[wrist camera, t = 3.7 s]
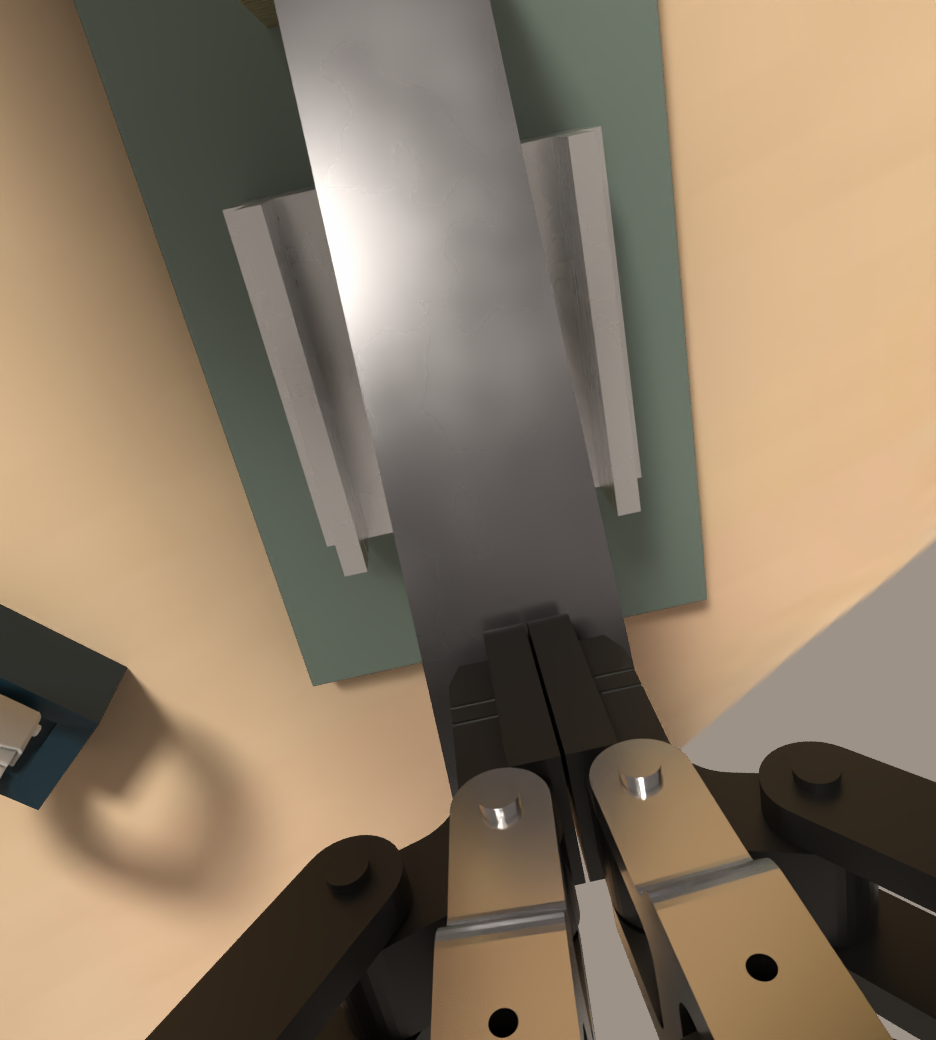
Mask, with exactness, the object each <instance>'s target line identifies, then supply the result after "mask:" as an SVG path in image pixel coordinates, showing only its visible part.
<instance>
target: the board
mask: <svg viewBox="0 0 936 1040" xmlns="http://www.w3.org/2000/svg"><path fill="white" fill-rule="evenodd" d="M74 3H75V6H76V9H77V12H78V14H79V17H80V20H81V23H82V26H83V29H84V32H85V34H86V37H87V40H88V43H89V46H90V49H91V52H92V54H93V57H94V60H95V63H96V66H97V69H98V72H99V75H100V77H101V80H102V83H103V86H104V89H105V92H106V95H107V97H108V100H109V103H110V106H111V109H112V112H113V115H114V118H115V120H116V123H117V126H118V129H119V132H120V135H121V138H122V140H123V143H124V146H125V149H126V152H127V155H128V158H129V160H130V163H131V166H132V169H133V172H134V175H135V178H136V181H137V183H138V186H139V189H140V192H141V195H142V198H143V201H144V203H145V206H146V209H147V212H148V215H149V218H150V221H151V223H152V226H153V229H154V232H155V235H156V238H157V241H158V244H159V246H160V249H161V252H162V255H163V258H164V261H165V264H166V266H167V269H168V272H169V275H170V278H171V281H172V284H173V287H174V289H175V292H176V295H177V298H178V301H179V304H180V307H181V309H182V312H183V315H184V318H185V321H186V324H187V327H188V329H189V332H190V335H191V338H192V341H193V344H194V347H195V350H196V352H197V355H198V358H199V361H200V364H201V367H202V370H203V372H204V375H205V378H206V381H207V384H208V387H209V390H210V392H211V395H212V398H213V401H214V404H215V407H216V410H217V413H218V415H219V418H220V421H221V424H222V427H223V430H224V433H225V435H226V438H227V441H228V444H229V447H230V450H231V453H232V456H233V458H234V461H235V464H236V467H237V470H238V473H239V476H240V478H241V481H242V484H243V487H244V490H245V493H246V496H247V498H248V501H249V504H250V507H251V510H252V513H253V516H254V519H255V521H256V524H257V527H258V530H259V533H260V536H261V539H262V541H263V544H264V547H265V550H266V553H267V556H268V559H269V561H270V564H271V567H272V570H273V573H274V576H275V579H276V582H277V584H278V587H279V590H280V593H281V596H282V599H283V602H284V604H285V607H286V610H287V613H288V616H289V619H290V622H291V625H292V627H293V630H294V633H295V636H296V639H297V642H298V645H299V647H300V650H301V653H302V656H303V659H304V662H305V665H306V667H307V670H308V673H309V676H310V679H311V682H312V685H313V686H317V685H321V684H326V683H330V682H335V681H340V680H344V679H349V678H353V677H358V676H362V675H367V674H371V673H376V672H380V671H385V670H389V669H394V668H398V667H403V666H407V665H412V664H416V663H421V662H422V659H421V654H420V650H419V645H418V641H417V636H416V632H415V627H414V623H413V618H412V614H411V610H410V605H409V601H408V596H407V592H406V587H405V583H404V578H403V574H402V569H401V565H400V561H399V556H398V552H397V547H396V543H395V538H394V534H393V532H392V533H388V534H383V535H379V536H374V537H370V538H369V550H368V572H364V573H359V574H354V575H350V576H344V572H343V569H342V566H341V563H340V559H339V556H338V553H337V550H336V546H335V545H333V546H329V547H327V545H326V542H325V538H324V535H323V532H322V529H321V526H320V522H319V519H318V516H317V513H316V510H315V506H314V503H313V500H312V497H311V493H310V490H309V487H308V484H307V481H306V477H305V474H304V471H303V468H302V465H301V461H300V458H299V455H298V452H297V448H296V445H295V442H294V439H293V436H292V432H291V429H290V426H289V423H288V420H287V416H286V413H285V410H284V407H283V403H282V400H281V397H280V394H279V391H278V387H277V384H276V381H275V378H274V375H273V371H272V368H271V365H270V362H269V358H268V355H267V352H266V349H265V346H264V342H263V339H262V336H261V333H260V330H259V326H258V323H257V320H256V317H255V313H254V310H253V307H252V304H251V301H250V297H249V294H248V291H247V288H246V285H245V281H244V278H243V275H242V272H241V268H240V265H239V262H238V259H237V256H236V252H235V249H234V246H233V243H232V240H231V236H230V233H229V230H228V227H227V223H226V220H225V217H224V214H223V211H222V210H224V209H227V208H229V207H232V206H234V205H237V204H239V203H242V202H245V201H250V200H254V199H259V198H263V197H268V196H272V195H277V194H281V193H286V192H290V191H295V190H299V189H304V188H308V187H313V186H315V182H314V177H313V173H312V168H311V164H310V159H309V155H308V151H307V146H306V142H305V137H304V133H303V128H302V124H301V119H300V115H299V110H298V106H297V101H296V97H295V93H294V88H293V84H292V79H291V75H290V70H289V66H288V61H287V57H286V52H285V48H284V44H283V39H282V35H281V30H280V26H275V27H270V28H266V27H265V26H264V25H263V24H262V23H261V22H260V21H259V20H258V19H257V18H256V17H255V16H254V15H253V14H252V13H251V12H250V11H249V10H248V9H247V8H246V7H245V6H244V5H243V4H242V3H241V2H240V1H239V0H74ZM490 4H491V9H492V13H493V18H494V23H495V27H496V32H497V36H498V41H499V46H500V50H501V55H502V60H503V64H504V69H505V73H506V78H507V83H508V87H509V92H510V97H511V101H512V106H513V110H514V115H515V120H516V124H517V129H518V134H519V138H520V140H524V139H529V138H533V137H538V136H542V135H547V134H551V133H556V132H560V131H565V130H569V129H574V128H585V127H597V126H601V130H602V139H603V147H604V156H605V165H606V173H607V182H608V191H609V199H610V208H611V217H612V225H613V234H614V242H615V251H616V260H617V268H618V277H619V286H620V294H621V303H622V312H623V320H624V329H625V338H626V346H627V355H628V364H629V372H630V381H631V390H632V398H633V407H634V416H635V424H636V433H637V442H638V450H639V459H640V468H641V476H642V477H641V478H637V482H638V490H639V499H640V507H641V511H639V512H635V513H630V514H626V515H621V516H618V515H617V514H616V512H615V510H614V509H613V507H612V506H611V504H610V502H609V501H608V499H607V498H606V496H605V494H604V493H603V491H602V490H601V488H600V487H595V490H596V494H597V499H598V504H599V508H600V513H601V518H602V522H603V527H604V531H605V536H606V541H607V545H608V550H609V555H610V559H611V564H612V568H613V573H614V578H615V582H616V587H617V592H618V596H619V601H620V606H621V610H622V615H623V618H624V617H629V616H634V615H638V614H643V613H647V612H652V611H656V610H661V609H665V608H670V607H674V606H679V605H683V604H688V603H692V602H697V601H701V600H706V599H707V594H706V582H705V570H704V558H703V546H702V534H701V522H700V510H699V498H698V486H697V474H696V462H695V450H694V438H693V426H692V414H691V402H690V390H689V378H688V366H687V354H686V342H685V330H684V318H683V306H682V294H681V282H680V270H679V258H678V246H677V234H676V222H675V210H674V198H673V186H672V174H671V162H670V150H669V138H668V126H667V114H666V102H665V90H664V78H663V66H662V54H661V42H660V30H659V18H658V6H657V0H490Z"/></svg>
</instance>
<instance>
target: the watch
mask: <svg viewBox="0 0 936 1040" xmlns="http://www.w3.org/2000/svg"><path fill="white" fill-rule="evenodd" d="M126 668H127V667H125V666H123V665H121V664H119V663H117V662H115V661H113V660H111V659H109V658H107V657H105V656H103V655H101V654H99V653H97V652H95V651H93V650H91V649H89V648H87V647H85V646H83V645H81V644H79V643H77V642H75V641H73V640H71V639H69V638H67V637H65V636H63V635H61V634H59V633H57V632H55V631H53V630H51V629H49V628H47V627H45V626H43V625H41V624H39V623H37V622H35V621H33V620H31V619H29V618H27V617H25V616H23V615H21V614H18V613H16V612H14V611H12V610H10V609H8V608H6V607H4V606H2V605H0V794H1V795H3V796H6V797H8V798H11V799H13V800H15V801H18V802H20V803H22V804H25V805H27V806H30V807H32V808H34V809H37V810H39V808H40V807H41V806H42V804H43V803H44V801H45V800H46V799H47V797H48V796H49V794H50V793H51V791H52V790H53V789H54V787H55V786H56V784H57V783H58V781H59V780H60V779H61V777H62V776H63V774H64V773H65V771H66V770H67V769H68V767H69V766H70V764H71V763H72V762H73V760H74V759H75V757H76V756H77V754H78V753H79V752H80V750H81V749H82V747H83V746H84V744H85V743H86V742H87V740H88V739H89V737H90V736H91V734H92V733H93V732H94V730H95V729H96V727H97V726H98V725H99V723H100V721H101V719H102V717H103V715H104V713H105V711H106V709H107V707H108V705H109V703H110V701H111V699H112V697H113V695H114V693H115V691H116V689H117V686H118V684H119V682H120V680H121V678H122V676H123V674H124V672H125V670H126Z"/></svg>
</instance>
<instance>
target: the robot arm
mask: <svg viewBox="0 0 936 1040" xmlns="http://www.w3.org/2000/svg"><path fill="white" fill-rule="evenodd" d="M527 629H528V634H529V639H530V644H531V648H530V645H529V641H528V637H527V634H526V630H525V627H524V623H521V624H516V625H512V626H507V627H503V628H498V629H493V630H489V631H484V632H483V636H484V641H485V647H486V652H487V657H488V660H487V661H482V662H478V663H473V664H468V665H464V666H459V667H458V669H457V671H456V673H455V675H454V677H453V679H452V681H451V683H450V685H449V697H450V707H451V718H452V726H453V739H454V749H455V760H456V770H457V781H458V791H457V793H456V794H455V796H454V798H453V800H452V803H451V807H450V816H449V817H448V818H447V819H446V821H445V822H444V823H443V824H442V825H441V826H440V827H439V828H438V829H436V830H435V831H434V832H432V833H431V834H429V835H428V836H426V837H424V838H423V839H421V840H419V841H417V842H415V843H413V844H411V845H409V846H407V847H405V848H403V849H401V850H398V849H397V848H396V846H395V845H394V844H392V843H391V842H390V841H388V840H386V839H384V838H381V837H378V836H372V835H359V836H353V837H349V838H346V839H343V840H340V841H338V842H336V843H333V844H332V845H330V846H328V847H327V848H325V849H324V850H322V851H321V852H320V853H318V854H317V855H316V856H315V857H314V858H313V859H312V860H311V861H310V862H309V863H308V864H307V865H306V866H305V867H304V868H303V870H302V871H301V872H300V873H299V874H298V875H297V876H296V877H295V878H294V879H293V880H292V881H291V883H290V884H289V885H288V886H287V887H286V888H285V889H284V890H283V891H282V892H281V893H280V894H279V895H278V897H277V898H276V899H275V900H274V901H273V902H272V903H271V904H270V905H269V906H268V907H267V908H266V910H265V911H264V912H263V913H262V914H261V915H260V916H259V917H258V918H257V919H256V920H255V921H254V922H253V924H252V925H251V926H250V927H249V928H248V929H247V930H246V931H245V932H244V933H243V934H242V935H241V937H240V938H239V939H238V940H237V941H236V942H235V943H234V944H233V945H232V946H231V947H230V948H229V949H228V951H227V952H226V953H225V954H224V955H223V956H222V957H221V958H220V959H219V960H218V961H217V962H216V964H215V965H214V966H213V967H212V968H211V969H210V970H209V971H208V972H207V973H206V974H205V975H204V976H203V978H202V979H201V980H200V981H199V982H198V983H197V984H196V985H195V986H194V987H193V988H192V989H191V991H190V992H189V993H188V994H187V995H186V996H185V997H184V998H183V999H182V1000H181V1001H180V1002H179V1003H178V1005H177V1006H176V1007H175V1008H174V1009H173V1010H172V1011H171V1012H170V1013H169V1014H168V1015H167V1016H166V1018H165V1019H164V1020H163V1021H162V1022H161V1023H160V1024H159V1025H158V1026H157V1027H156V1028H155V1029H154V1030H153V1032H152V1033H151V1034H150V1035H149V1036H148V1037H147V1038H146V1039H145V1040H596V1038H595V1032H594V1025H593V1018H592V1012H591V1005H590V998H589V992H588V985H587V978H586V972H585V965H584V958H583V952H582V945H581V938H580V933H579V929H578V924H579V920H580V912H579V906H578V900H577V896H576V890H575V886H574V885H578V884H583V883H585V877H584V872H583V867H582V862H581V857H580V851H579V847H578V842H577V836H578V839H579V843H580V846H581V850H582V854H583V858H584V861H585V865H586V869H587V872H588V876H589V880H590V882H591V881H596V880H600V879H605V880H606V883H607V886H608V889H609V893H610V896H611V901H612V906H613V912H614V917H615V922H616V927H617V930H618V933H619V936H620V938H621V941H622V944H623V946H624V949H625V951H626V954H627V957H628V959H629V962H630V964H631V967H632V970H633V972H634V975H635V977H636V980H637V983H638V985H639V988H640V990H641V993H642V996H643V998H644V1001H645V1003H646V1006H647V1009H648V1011H649V1014H650V1016H651V1019H652V1021H653V1024H654V1027H655V1029H656V1032H657V1035H658V1037H659V1040H896V1039H893V1038H892V1037H891V1036H890V1034H889V1033H888V1031H887V1030H886V1028H885V1027H884V1025H883V1024H882V1022H881V1021H880V1019H879V1018H878V1016H877V1014H878V1015H880V1016H882V1017H883V1018H885V1019H887V1020H888V1021H890V1022H892V1023H893V1024H895V1025H897V1026H898V1027H900V1028H902V1029H903V1030H905V1031H907V1032H908V1033H910V1034H912V1035H913V1036H915V1037H917V1038H919V1039H920V1040H936V916H934V915H932V914H930V913H928V912H925V911H924V910H921V909H919V908H917V907H915V906H913V905H911V904H909V903H907V902H905V901H903V900H901V899H899V898H897V897H894V896H893V895H891V894H889V893H886V892H884V891H882V890H880V889H878V885H879V886H881V887H883V888H885V889H887V890H890V891H892V892H894V893H896V894H898V895H900V896H902V897H904V898H906V899H908V900H910V901H912V902H914V903H916V904H919V905H921V906H923V907H925V908H927V909H929V910H931V911H933V912H935V913H936V782H933V781H931V780H928V779H925V778H923V777H920V776H917V775H915V774H912V773H909V772H907V771H904V770H901V769H899V768H896V767H893V766H891V765H888V764H885V763H882V762H880V761H877V760H875V759H872V758H869V757H867V756H864V755H861V754H859V753H856V752H853V751H851V750H848V749H845V748H843V747H840V746H836V745H833V744H828V743H823V742H797V743H792V744H788V745H785V746H782V747H780V748H777V749H776V750H774V751H773V752H771V753H770V754H769V755H768V756H767V757H766V758H765V759H764V760H763V762H762V764H761V766H760V769H759V773H730V772H718V771H713V770H709V769H705V768H702V767H699V766H697V765H695V764H692V763H691V761H690V760H689V759H688V757H687V756H686V755H685V754H684V753H683V752H682V751H681V750H680V749H678V748H677V747H675V746H673V745H671V744H670V743H669V741H668V738H667V736H666V734H665V732H664V730H663V728H662V726H661V724H660V722H659V720H658V718H657V716H656V713H655V711H654V709H653V707H652V705H651V703H650V701H649V699H648V697H647V695H646V693H645V691H644V689H643V686H641V682H640V680H639V678H638V676H637V674H636V672H635V671H634V669H633V666H632V664H631V661H630V659H629V657H628V655H627V653H626V651H625V649H624V648H623V647H621V646H620V645H618V644H617V643H616V642H614V641H613V640H611V639H610V638H608V637H607V636H605V635H601V636H597V637H592V638H587V639H583V640H578V638H577V636H576V633H575V631H574V628H573V625H572V623H571V620H570V618H569V615H568V614H567V613H566V614H562V615H557V616H552V617H548V618H543V619H539V620H534V621H529V622H527ZM531 649H532V652H531ZM532 654H533V655H532ZM574 825H575V826H574ZM575 828H576V831H575ZM576 832H577V836H576ZM876 1013H877V1014H876Z"/></svg>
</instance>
